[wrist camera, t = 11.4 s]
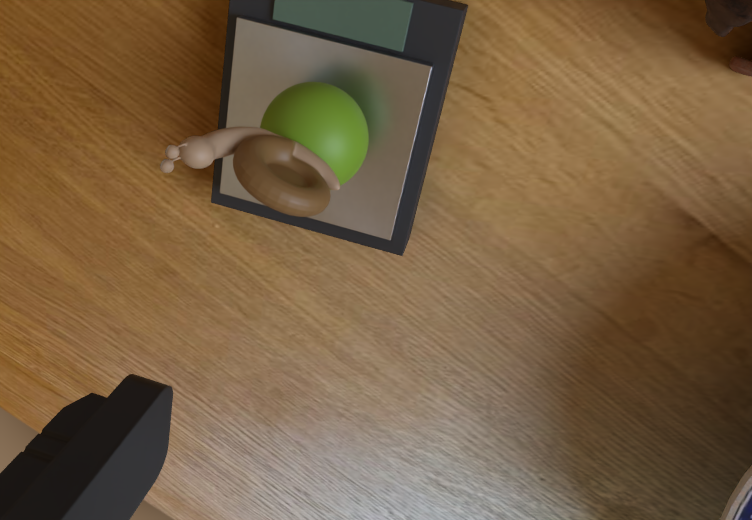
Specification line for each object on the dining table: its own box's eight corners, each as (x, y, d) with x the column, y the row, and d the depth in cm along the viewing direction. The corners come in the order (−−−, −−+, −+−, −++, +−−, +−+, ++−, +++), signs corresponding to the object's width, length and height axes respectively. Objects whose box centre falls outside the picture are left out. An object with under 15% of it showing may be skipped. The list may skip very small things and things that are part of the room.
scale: (251, -49, 37) (231, -46, 34) (468, 5, 36) (463, 11, 33) (227, 188, 43) (208, 204, 41) (409, 238, 42) (401, 258, 40)
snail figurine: (288, 42, 35) (182, 95, 25) (396, 105, 35) (337, 185, 25) (249, 130, 38) (138, 213, 27) (350, 189, 38) (279, 293, 28)
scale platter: (242, 15, 36) (236, 16, 35) (434, 63, 35) (432, 66, 34) (224, 188, 41) (219, 193, 40) (393, 235, 40) (390, 241, 39)
